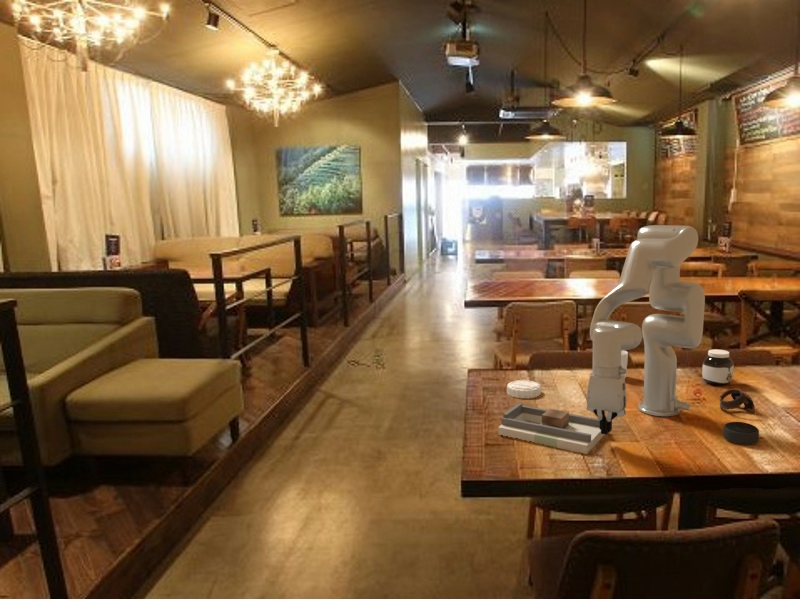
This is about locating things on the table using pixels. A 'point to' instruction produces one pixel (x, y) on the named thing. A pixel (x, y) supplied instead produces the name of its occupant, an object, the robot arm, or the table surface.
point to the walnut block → (555, 418)
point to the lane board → (551, 429)
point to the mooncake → (523, 389)
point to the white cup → (624, 361)
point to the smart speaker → (741, 433)
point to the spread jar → (718, 368)
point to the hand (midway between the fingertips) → (605, 432)
